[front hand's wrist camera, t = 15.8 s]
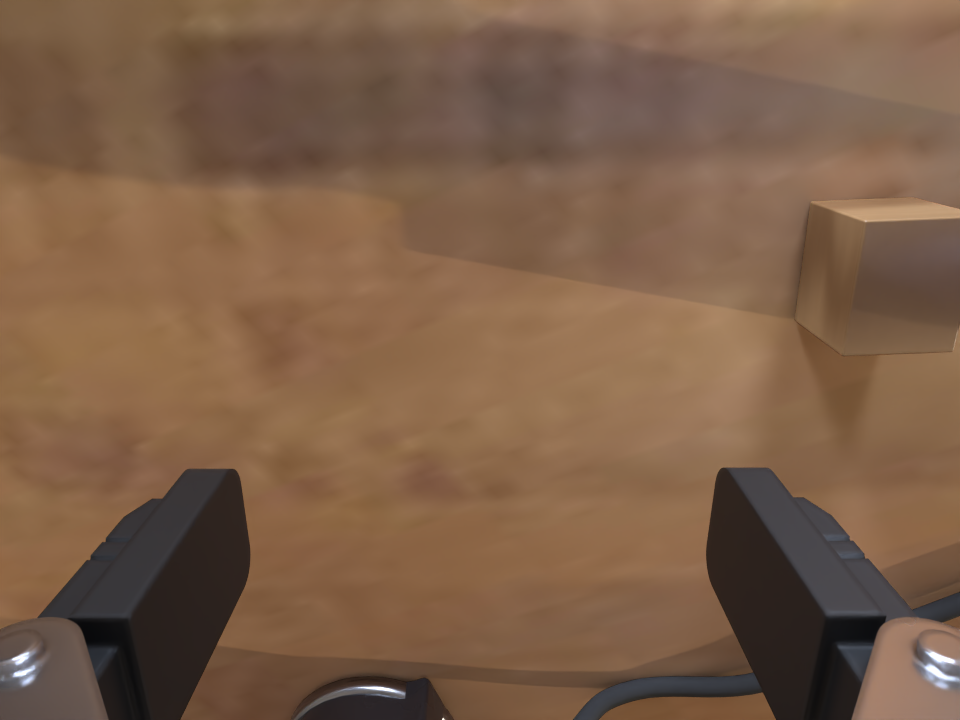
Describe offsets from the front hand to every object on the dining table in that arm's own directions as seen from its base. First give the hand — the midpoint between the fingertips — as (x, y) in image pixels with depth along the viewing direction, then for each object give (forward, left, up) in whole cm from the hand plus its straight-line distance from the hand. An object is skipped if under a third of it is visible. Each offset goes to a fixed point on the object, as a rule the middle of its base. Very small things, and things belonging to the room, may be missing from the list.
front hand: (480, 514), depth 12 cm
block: (-14, +6, -18) cm, 23 cm away
